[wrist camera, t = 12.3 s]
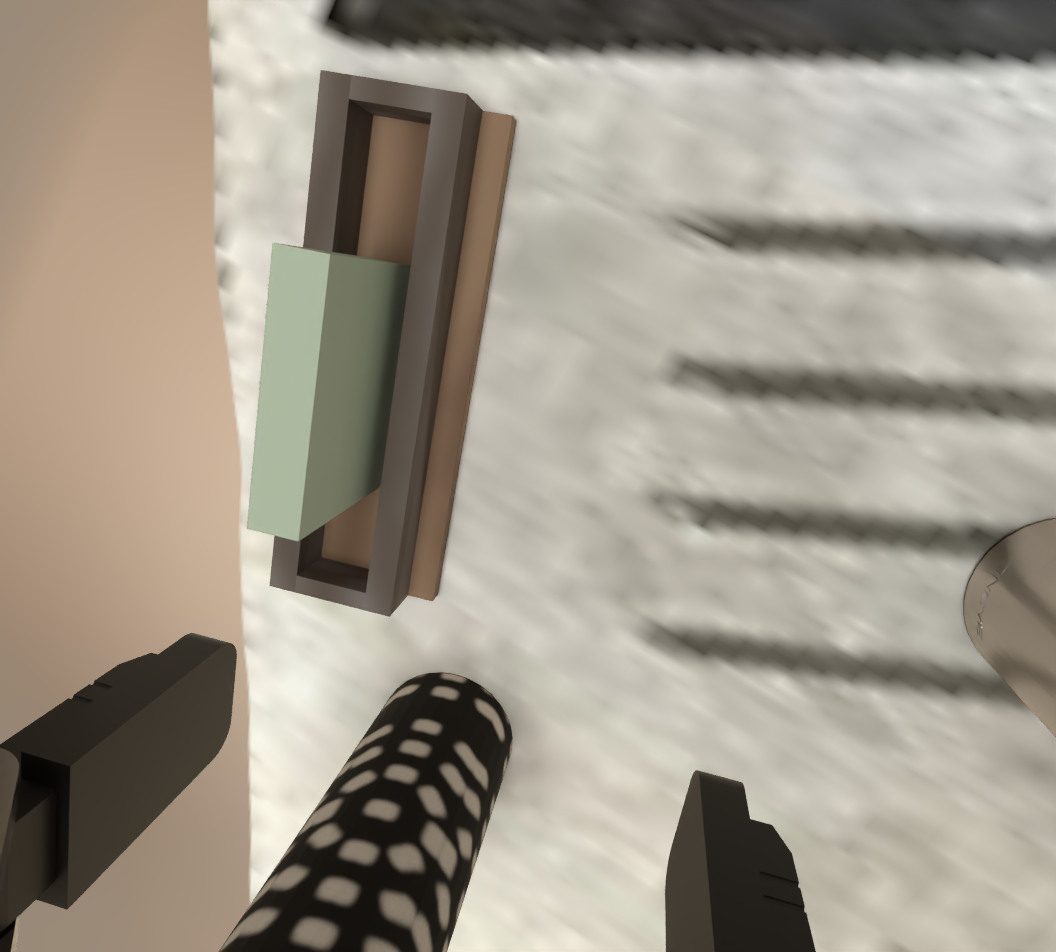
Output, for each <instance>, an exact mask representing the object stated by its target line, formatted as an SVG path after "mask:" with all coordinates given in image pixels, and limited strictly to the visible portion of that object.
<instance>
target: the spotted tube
mask: <svg viewBox="0 0 1056 952" xmlns="http://www.w3.org/2000/svg"><path fill="white" fill-rule="evenodd" d="M511 751H512V733H511V727H510V724H509V721H508V719H507V716H506V714H505V712H504V711H503V709H502V707H501V706H500V704H499V703H498V702H497V701H496V699H495V698H494V697H493V696H492V695H491V694H490V693H489V692H487V691H486V690H485V689H484V688H482V687H481V686H480V685H478V684H476V683H474V682H472V681H471V680H469V679H466V678H463V677H460V676H457V675H453V674H446V673H429V674H425V675H421V676H417V677H415V678H413V679H411V680H409V681H406V682H405V683H404V684H403V685H401V686H400V687H399V688H397V690H396V691H395V692H394V693H393V695H392V696H391V697H390V698H389V700H388V701H387V703H386V704H385V706H384V707H383V709H382V710H381V712H380V713H379V715H378V716H377V718H376V719H375V721H374V722H373V724H372V725H371V727H370V728H369V730H368V731H367V733H366V734H365V735H364V737H363V738H362V740H361V741H360V743H359V744H358V746H357V747H356V749H355V750H354V752H353V753H352V755H351V756H350V758H349V759H348V761H347V762H346V764H345V765H344V767H343V768H342V770H341V771H340V773H339V774H338V776H337V777H336V779H335V780H334V781H333V783H332V784H331V786H330V787H329V789H328V790H327V792H326V793H325V795H324V796H323V798H322V799H321V801H320V802H319V804H318V805H317V807H316V808H315V810H314V811H313V813H312V814H311V816H310V817H309V819H308V820H307V822H306V823H305V825H304V826H303V827H302V829H301V830H300V832H299V833H298V835H297V836H296V838H295V839H294V841H293V842H292V844H291V845H290V847H289V848H288V850H287V851H286V853H285V854H284V856H283V857H282V859H281V860H280V862H279V863H278V865H277V866H276V868H275V869H274V871H273V872H272V873H271V875H270V876H269V878H268V879H267V881H266V882H265V884H264V885H263V887H262V888H261V890H260V891H259V893H258V894H257V896H256V897H255V899H254V900H253V902H252V903H251V905H250V906H249V908H248V909H247V911H246V912H245V914H244V915H243V917H242V918H241V920H240V921H239V922H238V924H237V925H236V927H235V928H234V930H233V931H232V933H231V934H230V936H229V938H228V939H227V940H226V942H225V943H224V945H223V946H222V948H221V949H220V951H219V952H447V950H448V947H449V944H450V940H451V937H452V934H453V931H454V928H455V925H456V922H457V919H458V916H459V913H460V909H461V906H462V903H463V900H464V897H465V894H466V891H467V888H468V885H469V882H470V879H471V875H472V872H473V869H474V866H475V863H476V860H477V857H478V854H479V851H480V848H481V844H482V841H483V838H484V835H485V832H486V829H487V826H488V823H489V820H490V817H491V814H492V810H493V807H494V804H495V801H496V798H497V795H498V792H499V789H500V786H501V783H502V780H503V776H504V773H505V770H506V767H507V764H508V761H509V757H510V754H511Z"/></svg>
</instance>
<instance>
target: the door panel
mask: <svg viewBox="0 0 1056 952" xmlns="http://www.w3.org/2000/svg"><path fill="white" fill-rule="evenodd" d="M410 268H411V266H409V265H404V264H399V263H394V262H389V261H384V260H379V259H374V258H369V257H362V256H355V255H349V254H342V253H336V252H329V251H323V250H316V249H310V248H303V247H297V246H290V245H284V244H277V243H273V244H272V255H271V266H270V277H269V288H268V299H267V310H266V322H265V333H264V344H263V355H262V366H261V377H260V388H259V399H258V410H257V421H256V432H255V443H254V454H253V466H252V477H251V488H250V499H249V510H248V521H247V529H251V530H255V531H259V532H263V533H267V534H271V535H275V536H279V537H282V538H286V539H290V540H294V541H300V540H301V539H303V538H304V537H306V536H307V535H309V534H310V533H312V532H313V531H315V530H316V529H318V528H319V527H321V526H322V525H324V524H325V523H327V522H328V521H330V520H331V519H333V518H334V517H336V516H337V515H339V514H340V513H342V512H343V511H345V510H346V509H348V508H349V507H351V506H352V505H354V504H355V503H357V502H358V501H360V500H361V499H363V498H364V497H366V496H367V495H369V494H370V493H372V492H373V491H375V490H376V489H378V488H379V487H380V486H381V479H382V472H383V464H384V457H385V450H386V442H387V435H388V428H389V421H390V413H391V406H392V399H393V392H394V384H395V377H396V370H397V362H398V355H399V348H400V341H401V333H402V326H403V319H404V312H405V304H406V297H407V290H408V282H409V275H410Z"/></svg>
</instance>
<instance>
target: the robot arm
mask: <svg viewBox="0 0 1056 952" xmlns="http://www.w3.org/2000/svg"><path fill="white" fill-rule="evenodd" d="M964 619H965V623H966V627H967V630H968V634H969V636H970V638H971V640H972V642H973V644H974V645H975V647H976V649H977V650H978V651H979V653H980V654H981V655H982V656H983V657H984V658H985V659H986V660H987V661H988V663H989V664H990V665H991V666H992V667H993V668H994V669H995V670H996V672H997V673H998V674H999V675H1000V676H1001V677H1002V678H1003V679H1004V680H1005V682H1006V683H1007V684H1008V685H1009V686H1010V687H1011V688H1012V689H1013V690H1014V692H1015V693H1016V694H1017V695H1018V697H1019V698H1020V699H1021V700H1022V701H1023V702H1024V703H1025V704H1026V705H1027V706H1028V707H1029V709H1030V710H1031V711H1032V712H1033V713H1034V714H1035V715H1036V716H1037V717H1038V718H1039V719H1040V721H1041V722H1042V723H1043V724H1044V725H1045V726H1046V727H1047V728H1048V729H1049V730H1050V732H1051V733H1052V734H1053V735H1054V736H1055V737H1056V519H1052V520H1045V521H1042V522H1039V523H1036V524H1033V525H1030V526H1027V527H1024V528H1022V529H1021V530H1019V531H1017V532H1015V533H1013V534H1011V535H1010V536H1008V537H1006V538H1005V539H1003V540H1002V541H1001V542H1000V543H998V544H997V545H996V546H995V547H994V548H992V549H991V550H990V551H989V552H988V553H987V555H986V556H985V557H984V558H983V559H982V561H981V562H980V563H979V564H978V566H977V567H976V569H975V571H974V573H973V575H972V577H971V579H970V581H969V583H968V587H967V591H966V595H965V599H964ZM236 657H237V654H236V648H235V646H234V645H233V644H231V643H228V642H224V641H220V640H217V639H213V638H209V637H205V636H202V635H198V634H194V633H190V634H187V635H185V636H184V637H182V638H181V639H179V640H178V641H177V642H175V643H174V644H172V645H171V646H170V647H168V648H167V649H165V650H164V651H163V652H161V653H160V654H158V655H157V654H153V653H150V654H147V655H144V656H141V657H138V658H136V659H133V660H130V661H127V662H125V663H122V664H119V665H117V666H116V667H115V668H113V669H112V670H110V671H108V672H107V673H106V674H104V675H103V676H101V677H100V678H98V679H97V680H95V681H94V684H93V685H88V686H86V687H85V688H83V689H82V690H80V691H79V692H77V693H76V694H74V696H73V698H72V699H67V700H65V701H64V702H62V703H61V704H59V705H58V706H56V707H55V708H54V709H52V710H51V711H49V712H48V713H46V714H45V715H43V716H42V717H40V718H39V719H37V720H36V721H34V722H33V723H31V724H30V725H28V726H27V727H25V728H24V729H22V730H21V731H19V732H18V733H16V734H15V735H13V736H12V737H11V738H9V739H8V740H6V741H5V742H3V743H2V744H0V952H16V947H17V941H18V935H19V915H20V914H21V913H22V912H23V911H24V910H25V909H26V908H27V907H29V906H30V905H31V904H32V903H33V902H34V901H35V900H39V901H43V902H46V903H49V904H52V905H55V906H58V907H61V908H64V909H68V908H69V907H70V906H71V905H72V904H73V903H74V902H75V901H76V900H77V899H78V898H79V897H80V896H81V895H82V894H83V893H84V892H85V891H86V890H87V889H88V888H89V887H90V886H91V884H93V883H94V881H96V879H97V878H98V877H99V876H100V875H101V874H102V873H103V872H104V871H105V870H106V869H107V868H108V867H109V866H110V865H111V864H112V863H113V862H114V861H115V860H116V859H117V858H118V857H119V856H120V855H121V854H122V853H123V852H124V850H126V849H127V848H128V846H129V845H130V844H131V843H132V842H133V841H134V840H135V839H136V838H137V837H138V836H139V835H140V834H141V833H142V832H143V831H144V830H145V829H146V828H147V827H148V826H149V825H150V824H151V823H152V822H153V821H154V820H155V819H156V818H157V817H158V816H159V815H160V814H161V812H162V811H163V810H164V809H165V808H166V807H167V806H168V805H169V804H170V803H171V802H172V801H173V800H174V799H175V798H176V797H177V796H178V795H179V794H180V793H181V792H182V791H183V790H184V789H185V788H186V787H187V786H188V785H189V784H190V783H191V782H192V780H193V779H194V778H196V777H197V775H198V774H199V773H200V772H201V771H202V770H203V769H204V768H205V767H206V766H207V765H208V764H209V763H210V762H211V761H212V760H213V759H214V758H215V757H216V755H217V754H218V753H219V751H220V749H221V748H222V746H223V744H224V742H225V739H226V737H227V734H228V731H229V728H230V724H231V716H232V704H233V693H234V681H235V670H236V659H237V658H236ZM798 884H799V881H798V877H797V873H796V869H795V865H794V861H793V856H792V853H791V852H790V850H789V849H788V847H787V846H786V844H785V843H784V842H783V840H782V839H781V837H780V836H779V834H778V833H777V831H776V830H775V829H774V827H773V826H772V825H770V824H766V823H762V822H759V821H755V820H751V819H750V816H749V811H748V805H747V800H746V794H745V789H744V785H743V783H742V782H738V781H735V780H731V779H727V778H724V777H720V776H716V775H712V774H709V773H705V772H701V771H698V770H696V771H695V772H694V774H693V776H692V778H691V781H690V785H689V788H688V792H687V795H686V799H685V802H684V806H683V809H682V813H681V816H680V819H679V823H678V826H677V830H676V833H675V837H674V840H673V844H672V847H671V851H670V856H669V861H668V867H667V875H666V886H665V910H666V952H816V951H815V947H814V943H813V939H812V935H811V930H810V926H809V922H808V918H807V914H806V913H805V912H804V907H805V906H804V902H803V898H802V893H801V889H800V888H798Z"/></svg>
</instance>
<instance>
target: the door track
mask: <svg viewBox="0 0 1056 952" xmlns="http://www.w3.org/2000/svg"><path fill="white" fill-rule="evenodd" d="M515 126H516V120H515V119H514V117H513V116H510V115H504V114H498V113H492V112H486V111H482V110H481V109H480V107H479V106H478V105H477V104H476V103H475V102H474V101H473V100H472V99H471V98H470V97H469V95H468V94H464V93H458V92H452V91H446V90H440V89H433V88H427V87H421V86H415V85H409V84H403V83H397V82H391V81H384V80H378V79H372V78H366V77H360V76H354V75H348V74H342V73H335V72H329V71H323V70H321V73H320V83H319V93H318V103H317V113H316V123H315V133H314V143H313V153H312V163H311V174H310V184H309V194H308V204H307V214H306V224H305V234H304V244H303V248H310V249H316V250H323V251H329V252H336V253H342V254H349V255H355V256H362V257H369V258H374V259H379V260H384V261H389V262H394V263H399V264H404V265H409V266H411V268H410V275H409V282H408V290H407V297H406V304H405V312H404V319H403V326H402V333H401V341H400V348H399V355H398V362H397V370H396V377H395V384H394V392H393V399H392V406H391V413H390V421H389V428H388V435H387V442H386V450H385V457H384V464H383V472H382V479H381V486H380V487H379V488H378V489H376V490H375V491H373V492H372V493H370V494H369V495H367V496H366V497H364V498H363V499H361V500H360V501H358V502H357V503H355V504H354V505H352V506H351V507H349V508H348V509H346V510H345V511H343V512H342V513H340V514H339V515H337V516H336V517H334V518H333V519H331V520H330V521H328V522H327V523H325V524H324V525H322V526H321V527H319V528H318V529H316V530H315V531H313V532H312V533H310V534H309V535H307V536H306V537H304V538H303V539H301V540H300V541H294V540H290V539H286V538H282V537H279V536H275V537H274V547H273V557H272V567H271V577H270V586H273V587H276V588H280V589H284V590H288V591H292V592H296V593H300V594H304V595H308V596H311V597H315V598H319V599H323V600H327V601H331V602H335V603H339V604H343V605H346V606H350V607H354V608H358V609H362V610H366V611H370V612H374V613H378V614H381V615H385V616H389V617H390V616H391V614H392V613H393V612H394V611H395V610H396V609H397V607H398V606H399V605H400V604H401V603H402V601H403V600H404V599H405V598H406V597H407V596H408V595H410V596H414V597H418V598H422V599H425V600H429V601H433V600H434V599H435V597H436V596H437V595H438V589H439V583H440V577H441V571H442V565H443V559H444V553H445V547H446V541H447V535H448V529H449V523H450V517H451V511H452V505H453V499H454V493H455V487H456V481H457V475H458V469H459V463H460V457H461V451H462V445H463V439H464V433H465V427H466V421H467V415H468V409H469V403H470V397H471V391H472V385H473V379H474V373H475V367H476V361H477V355H478V349H479V342H480V336H481V330H482V324H483V318H484V312H485V306H486V300H487V294H488V288H489V282H490V276H491V270H492V264H493V258H494V252H495V246H496V240H497V234H498V228H499V222H500V216H501V210H502V204H503V198H504V192H505V186H506V180H507V174H508V168H509V162H510V156H511V150H512V144H513V138H514V132H515Z"/></svg>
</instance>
